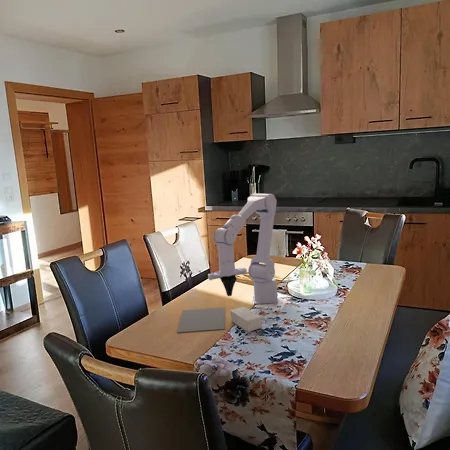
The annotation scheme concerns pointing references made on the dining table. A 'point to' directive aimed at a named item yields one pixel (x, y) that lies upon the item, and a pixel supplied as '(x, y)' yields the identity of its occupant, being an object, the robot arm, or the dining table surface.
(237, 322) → the skincare box
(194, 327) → the mat
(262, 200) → the robot arm
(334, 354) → the dining table surface
